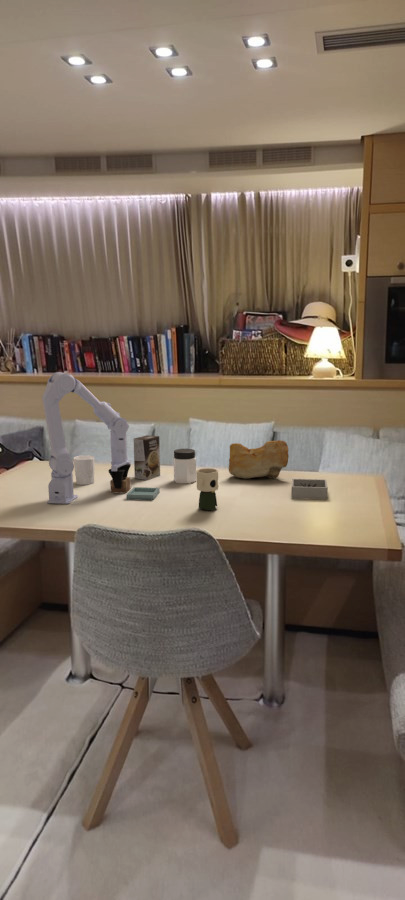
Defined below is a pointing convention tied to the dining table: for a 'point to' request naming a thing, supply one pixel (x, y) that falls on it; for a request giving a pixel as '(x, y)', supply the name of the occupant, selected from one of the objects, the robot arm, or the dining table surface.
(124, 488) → the collar
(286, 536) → the dining table surface
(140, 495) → the tray
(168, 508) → the dining table surface
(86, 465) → the white cup
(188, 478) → the jar
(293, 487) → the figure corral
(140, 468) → the coffee box
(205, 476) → the character mug
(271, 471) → the rough brown rock
